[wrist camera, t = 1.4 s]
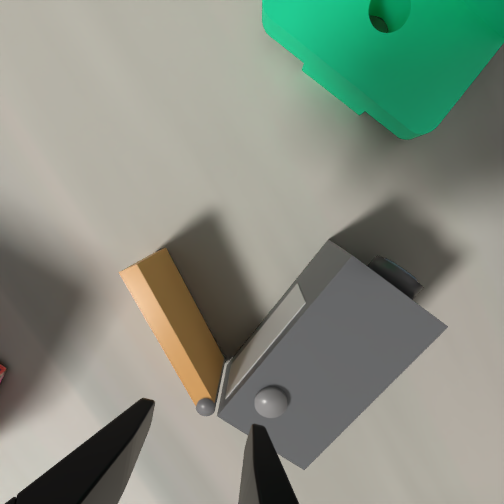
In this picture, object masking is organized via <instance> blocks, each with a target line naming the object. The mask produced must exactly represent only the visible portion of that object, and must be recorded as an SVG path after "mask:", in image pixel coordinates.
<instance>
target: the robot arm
mask: <svg viewBox="0 0 504 504" xmlns="http://www.w3.org/2000/svg"><path fill="white" fill-rule="evenodd" d="M154 406H155V401H154V400H151V399H146V398H142V399H140V400H139V401H137V402H136V403H135V404H133V405H132V406H131V407H129V408H128V409H127V410H126V411H124V412H123V413H122V414H120V415H119V416H118V417H117V418H115V419H114V420H113V421H111V422H110V423H109V424H107V425H106V426H105V427H104V428H102V429H101V430H100V431H98V432H97V433H96V434H95V435H93V436H92V437H91V438H89V439H88V440H87V441H86V442H84V443H83V444H82V445H80V446H79V447H78V448H76V449H75V450H74V451H73V452H71V453H70V454H69V455H67V456H66V457H65V458H64V459H62V460H61V461H60V462H58V463H57V464H56V465H54V466H53V467H52V468H51V469H49V470H48V471H47V472H45V473H44V474H43V475H42V476H40V477H39V478H38V479H36V480H35V481H34V482H32V483H31V484H30V485H29V486H27V487H26V488H25V489H23V490H22V491H21V492H20V493H18V495H17V498H16V497H13V498H12V499H10V500H9V501H8V502H6V503H5V504H118V502H119V500H120V498H121V496H122V494H123V492H124V490H125V487H126V485H127V483H128V480H129V478H130V476H131V473H132V471H133V468H134V466H135V463H136V461H137V458H138V456H139V453H140V451H141V448H142V446H143V443H144V441H145V439H146V436H147V434H148V431H149V428H150V425H151V422H152V417H153V411H154ZM238 504H299V502H298V500H297V498H296V496H295V493H294V491H293V489H292V486H291V484H290V482H289V480H288V477H287V475H286V473H285V471H284V468H283V466H282V464H281V461H280V459H279V457H278V455H277V452H276V450H275V448H274V446H273V443H272V441H271V439H270V436H269V434H268V432H267V430H266V428H265V426H263V425H258V424H252V425H251V428H250V431H249V435H248V438H247V441H246V445H245V451H244V459H243V467H242V476H241V485H240V493H239V502H238Z"/></svg>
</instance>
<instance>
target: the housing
mask: <svg viewBox="0 0 504 504" xmlns="http://www.w3.org/2000/svg"><path fill="white" fill-rule="evenodd" d="M423 288H424V287H423V286H422V285H421V284H420V283H418V282H417V279H416V278H415V277H414V276H412V275H411V274H410V273H408V272H407V271H406V270H404V269H403V268H401V267H400V266H398V265H397V264H395V263H394V262H392V261H390V260H389V259H387V258H385V259H384V258H382V257H380V256H378V255H377V256H376V257H375V258H374V259H373V260H372V262H371V263H370V264H369V265H368V266H366V265H365V264H364V263H362V262H361V261H359V260H358V259H357V258H355V257H354V256H353V255H351V254H350V253H348V252H347V251H345V250H344V249H342V248H341V247H339V246H338V245H336V244H335V243H333V242H332V241H330V240H329V239H328V241H327V242H326V243H325V244H324V246H323V247H322V248H321V249H320V251H319V252H318V253H317V254H316V255H315V257H314V258H313V259H312V260H311V262H310V263H309V264H308V265H307V267H306V268H305V269H304V270H303V272H302V273H301V274H300V275H299V277H298V278H297V279H296V280H295V282H294V283H293V284H292V285H291V286H290V288H289V289H288V290H287V291H286V293H285V294H284V295H283V296H282V298H281V299H280V300H279V301H278V303H277V304H276V305H275V306H274V308H273V309H272V310H271V311H270V313H269V314H268V315H267V316H266V317H265V319H264V320H263V321H262V322H261V324H260V325H259V326H258V327H257V329H256V330H255V331H254V332H253V334H252V335H251V336H250V337H249V339H248V340H247V341H246V342H245V344H244V345H243V346H242V347H241V348H240V350H239V351H238V352H237V353H236V355H235V356H234V357H233V358H232V360H231V361H230V362H229V363H228V365H227V368H226V373H225V378H224V383H223V388H222V394H221V399H220V404H219V409H218V414H217V416H218V417H219V418H221V419H223V420H224V421H226V422H227V423H229V424H231V425H232V426H234V427H235V428H237V429H239V430H240V431H242V432H243V433H245V434H247V435H249V431H250V428H251V425H252V424H258V425H263V426H265V428H266V430H267V432H268V434H269V436H270V439H271V441H272V443H273V446H274V448H275V450H276V452H277V454H279V455H281V456H282V457H284V458H285V459H287V460H289V461H290V462H292V463H294V464H295V465H297V466H298V467H300V468H302V469H303V470H305V469H306V468H307V467H308V466H309V465H310V464H311V463H312V462H313V461H314V460H315V459H316V458H317V457H318V456H319V455H320V454H321V453H322V452H323V451H324V450H325V449H326V448H327V447H328V446H329V445H330V444H331V443H332V442H333V441H334V440H335V439H336V438H337V437H338V436H339V435H340V434H341V433H342V432H343V431H344V430H345V429H346V428H347V427H348V426H349V425H350V424H351V423H352V422H353V421H354V420H355V419H356V418H357V417H358V416H359V415H360V414H361V413H362V412H363V411H364V410H365V409H366V408H367V407H368V406H369V405H370V404H371V403H372V402H373V401H374V400H375V399H376V398H377V397H378V396H379V395H380V394H381V393H382V392H383V391H384V390H385V389H386V388H387V387H388V386H389V385H390V384H391V383H392V382H393V381H394V380H395V379H396V378H397V377H398V376H399V375H400V374H401V373H402V372H403V371H404V370H405V369H406V368H407V367H408V366H409V365H410V364H411V363H412V362H413V361H414V360H415V359H416V358H417V357H418V356H419V355H420V354H421V353H422V352H423V351H424V350H425V349H426V348H427V347H428V346H429V345H430V344H431V343H432V342H433V341H434V340H435V339H436V338H437V337H438V336H439V335H440V334H441V333H442V332H443V331H444V330H445V329H446V328H447V327H448V326H447V325H445V324H444V323H443V322H441V321H440V320H439V319H437V318H436V317H435V316H433V315H432V314H431V313H429V312H428V311H427V310H425V309H424V308H422V307H421V306H420V305H418V304H417V303H416V302H414V301H413V298H414V297H415V296H416V295H417V294H418V293H419V292H420V291H421V290H422V289H423Z"/></svg>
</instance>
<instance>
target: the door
mask: <svg viewBox="0 0 504 504" xmlns="http://www.w3.org/2000/svg"><path fill="white" fill-rule="evenodd" d="M119 274H120V276H121V277H122V279H123V281H124V283H125V284H126V286H127V288H128V290H129V291H130V293H131V295H132V296H133V298H134V300H135V302H136V303H137V305H138V307H139V309H140V310H141V312H142V314H143V316H144V317H145V319H146V321H147V322H148V324H149V326H150V328H151V329H152V331H153V333H154V335H155V336H156V338H157V340H158V342H159V343H160V345H161V347H162V348H163V350H164V352H165V354H166V355H167V357H168V359H169V361H170V362H171V364H172V366H173V368H174V369H175V371H176V373H177V374H178V376H179V378H180V380H181V381H182V383H183V385H184V387H185V388H186V390H187V392H188V394H189V395H190V397H191V399H192V400H193V402H194V404H195V406H196V410H197V412H198V413H199V414H200V415H202V416H210V415H212V414H213V413H214V411H215V407H216V402H217V397H218V392H219V388H220V383H221V378H222V374H223V369H224V364H225V357H224V356H223V355H222V353H221V351H220V349H219V347H218V346H217V344H216V342H215V340H214V338H213V336H212V334H211V332H210V330H209V328H208V327H207V325H206V323H205V321H204V319H203V317H202V315H201V313H200V311H199V309H198V308H197V306H196V304H195V302H194V300H193V298H192V296H191V294H190V292H189V291H188V289H187V287H186V285H185V283H184V281H183V279H182V277H181V275H180V273H179V272H178V270H177V268H176V266H175V264H174V262H173V260H172V258H171V256H170V254H169V253H168V251H167V249H166V248H164V249H162V250H160V251H157V252H155V253H153V254H151V255H149V256H147V257H145V258H144V259H142V260H140V261H138V262H136V263H135V264H133V265H131V266H129V267H127V268H126V269H124V270H122V271H120V272H119Z"/></svg>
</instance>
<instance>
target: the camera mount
mask: <svg viewBox="0 0 504 504" xmlns="http://www.w3.org/2000/svg"><path fill="white" fill-rule="evenodd" d="M369 16H378V17H380V18H381V19H383V20H384V22H385V23H386V25H387V27H388V33H383V32H380V31H378V30H377V29H375V28H374V27H373V25H372V24H371V22H370V19H369ZM262 23H263V27H264V29H265V31H266V32H267V34H268V35H269V36H270V37H272V38H273V39H274V40H276V41H277V42H278V43H279V44H281V45H282V46H283V47H284V48H286V49H287V50H288V51H289V52H291V53H292V54H293V55H295V56H296V57H297V58H298V59H300V60H301V61H302V62H303V63H304V65H303V68H302V71H303V72H305V73H306V74H307V75H309V76H310V77H311V78H312V79H314V80H315V81H316V82H317V83H319V84H320V85H321V86H323V87H324V88H325V89H326V90H328V91H329V92H330V93H331V94H333V95H334V96H335V97H337V98H338V99H339V100H340V101H342V102H343V103H344V104H346V105H347V106H348V107H349V108H351V109H352V110H353V111H354V112H356V113H357V114H358V115H361V114H362V113H363V112H364V111H365V112H367V113H368V114H369V115H370V116H372V117H373V118H374V119H376V120H377V121H378V122H379V123H381V124H382V125H383V126H384V127H386V128H387V129H388V130H389V131H391V132H392V133H393V134H395V135H396V136H397V137H399V138H401V139H404V140H409V139H413V138H415V137H418V136H421V135H424V134H426V133H429V132H431V131H433V130H434V129H435V128H436V127H437V126H438V125H439V124H440V123H441V121H442V120H443V119H444V118H445V116H446V115H447V114H448V113H449V111H450V110H451V109H452V108H453V106H454V105H455V104H456V103H457V101H458V100H459V99H460V98H461V96H462V95H463V94H464V92H465V91H466V90H467V89H468V87H469V86H470V85H471V84H472V82H473V81H474V80H475V79H476V77H477V76H478V75H479V74H480V72H481V71H482V70H483V69H484V67H485V66H486V65H487V64H488V62H489V61H490V60H491V58H492V57H493V56H494V55H495V53H496V52H497V51H498V50H499V48H500V47H501V46H502V45H503V43H504V0H262Z"/></svg>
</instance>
